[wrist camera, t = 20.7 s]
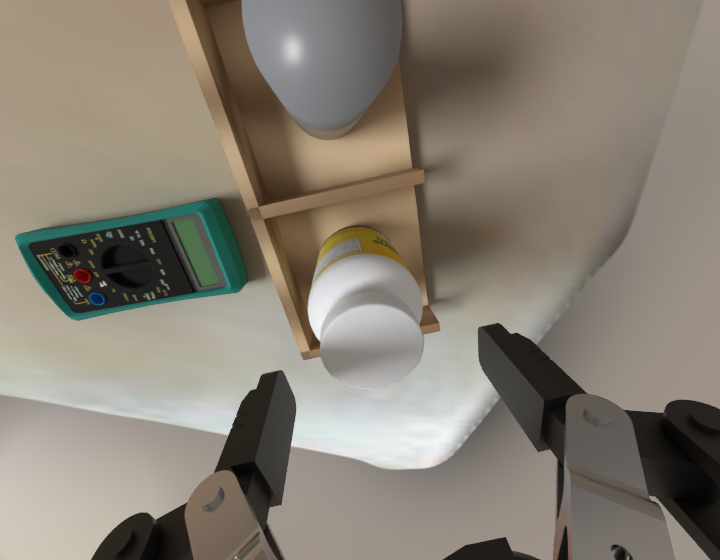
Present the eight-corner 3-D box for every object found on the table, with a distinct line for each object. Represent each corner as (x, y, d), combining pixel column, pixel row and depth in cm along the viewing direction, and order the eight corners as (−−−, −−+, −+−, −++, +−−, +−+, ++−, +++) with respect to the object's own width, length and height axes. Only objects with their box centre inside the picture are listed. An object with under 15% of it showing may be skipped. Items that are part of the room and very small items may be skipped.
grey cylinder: (270, 71, 17) (205, -38, 8) (342, 33, 17) (365, -129, 7) (309, 153, 19) (294, 142, 10) (374, 119, 19) (423, 77, 9)
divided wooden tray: (193, 2, 16) (151, -44, 13) (383, -44, 16) (396, -104, 12) (308, 332, 26) (303, 360, 23) (425, 306, 26) (440, 330, 22)
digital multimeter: (35, 228, 21) (-9, 238, 18) (223, 195, 21) (206, 200, 18) (89, 309, 24) (58, 327, 22) (253, 280, 24) (243, 295, 22)
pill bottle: (398, 289, 24) (446, 392, 13) (326, 301, 24) (316, 414, 13) (391, 216, 21) (444, 272, 11) (309, 229, 21) (281, 299, 11)
